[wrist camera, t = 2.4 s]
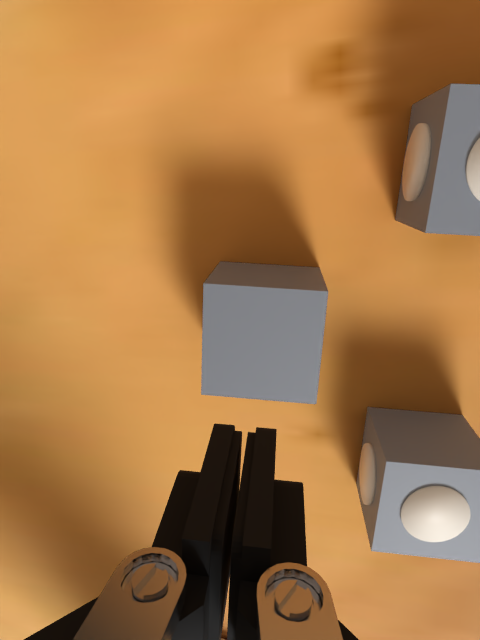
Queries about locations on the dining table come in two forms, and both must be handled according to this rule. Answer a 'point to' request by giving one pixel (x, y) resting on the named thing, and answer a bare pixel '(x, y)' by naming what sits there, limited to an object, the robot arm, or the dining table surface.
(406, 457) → the badge block
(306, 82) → the dining table surface
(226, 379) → the plain block
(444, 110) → the badge block
